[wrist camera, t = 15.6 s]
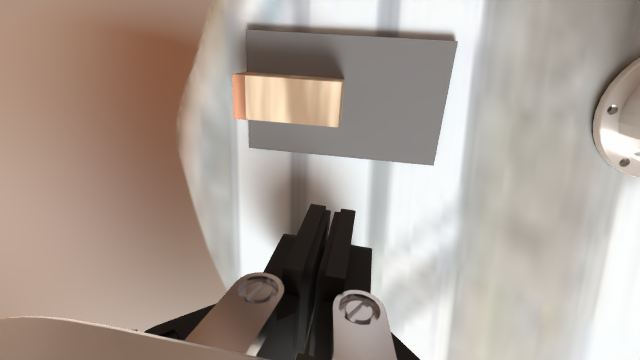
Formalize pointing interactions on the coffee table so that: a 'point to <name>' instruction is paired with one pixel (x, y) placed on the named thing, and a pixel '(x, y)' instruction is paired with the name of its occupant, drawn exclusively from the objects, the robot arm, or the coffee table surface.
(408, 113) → the mat
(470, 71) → the coffee table surface
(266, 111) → the maple block
